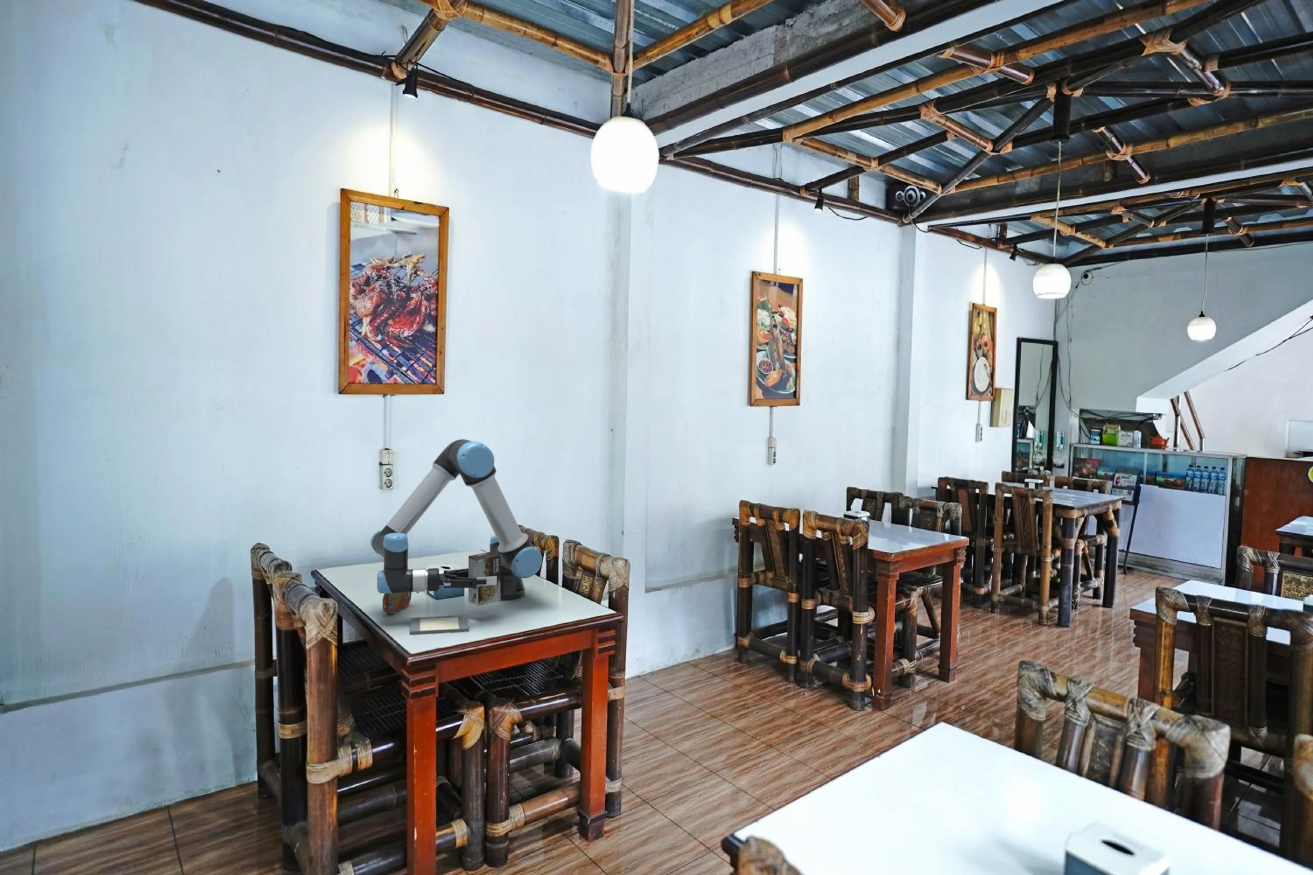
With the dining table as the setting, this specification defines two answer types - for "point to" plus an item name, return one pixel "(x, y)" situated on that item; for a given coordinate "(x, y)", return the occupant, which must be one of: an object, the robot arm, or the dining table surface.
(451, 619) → the mat
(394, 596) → the tin
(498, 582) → the coffee box
